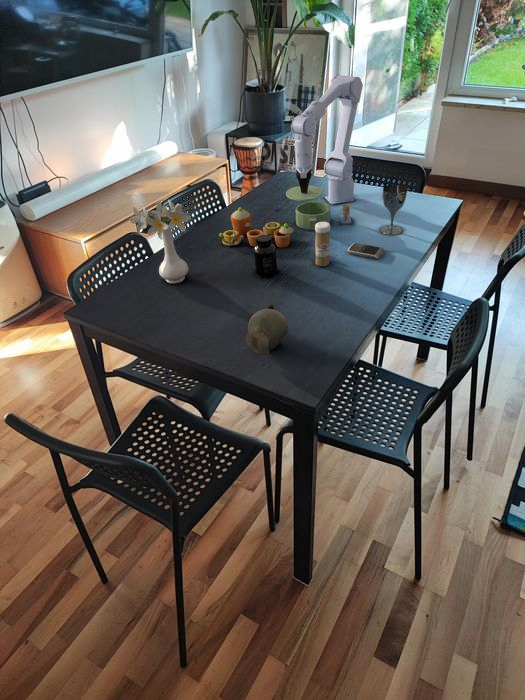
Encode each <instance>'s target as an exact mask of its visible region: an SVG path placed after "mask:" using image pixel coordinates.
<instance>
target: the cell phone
mask: <svg viewBox="0 0 525 700" xmlns="http://www.w3.org/2000/svg"><path fill="white" fill-rule="evenodd" d="M347 253H348V254H349V255H354V256H359V257H365V258H368V259H369V258H370V259H374V260H378V259H380V258H381V257H383V255H384V253H385V248H384V247H381V246H375V245H370V244H365V243H359V242H354V243H352V244H351V245H350V247H348V249H347Z"/></svg>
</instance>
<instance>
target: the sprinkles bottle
mask: <svg viewBox="0 0 525 700" xmlns="http://www.w3.org/2000/svg"><path fill="white" fill-rule="evenodd" d="M314 232H315V261H314V262H315V265H316V266H319V267H326V266H328V265H330V251H331V250H330V245H331V244H330V241H331V239H330V232H331V224H329V223H327V222H319V223H317V224H316V225H315V230H314Z"/></svg>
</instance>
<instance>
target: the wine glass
mask: <svg viewBox="0 0 525 700" xmlns="http://www.w3.org/2000/svg"><path fill="white" fill-rule="evenodd" d="M407 196H408V187H407V186H406V185H403V184H397V183H393V184H386V185H384V186H383V187H382V204H383V206H384V208H385V209H386V210H387V212H388V213H389V214H390V225H386V226H383V227H382V228H381V229H380V232H381V233H382V234H385V235H388V236H394V235H399V234H401V233H402V232H403V229H402V228H401V227H399V226H397V225H394V220H395V216H396V214H397V213H398V212H399V211H400V210H401V209H402V208H403V207H404V205H405V202H406V199H407Z"/></svg>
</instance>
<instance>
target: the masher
mask: <svg viewBox="0 0 525 700" xmlns="http://www.w3.org/2000/svg"><path fill="white" fill-rule="evenodd" d="M350 208H351V207H350V205H349V204H343V205H342V216H340V225H352V218H351V216H350V213H351V212H350V210H351V209H350Z"/></svg>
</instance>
